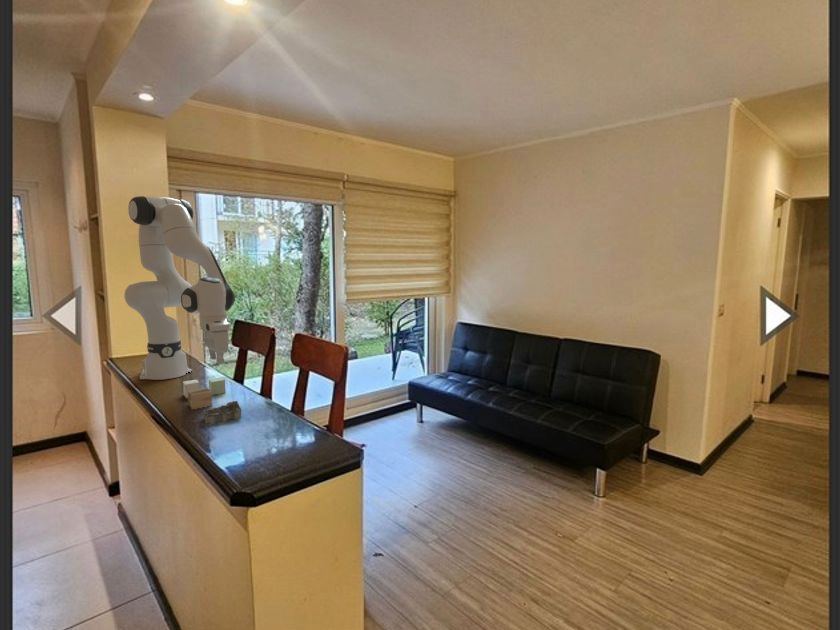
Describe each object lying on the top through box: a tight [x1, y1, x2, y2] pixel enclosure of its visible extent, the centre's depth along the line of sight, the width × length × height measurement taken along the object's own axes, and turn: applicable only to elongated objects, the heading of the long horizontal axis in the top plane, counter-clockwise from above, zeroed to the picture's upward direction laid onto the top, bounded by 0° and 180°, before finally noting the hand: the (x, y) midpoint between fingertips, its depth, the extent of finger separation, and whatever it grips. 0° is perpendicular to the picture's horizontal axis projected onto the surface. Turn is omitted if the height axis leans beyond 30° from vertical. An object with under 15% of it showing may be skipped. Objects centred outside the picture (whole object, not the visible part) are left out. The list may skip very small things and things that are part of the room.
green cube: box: [208, 376, 227, 396], centre depth 161 cm, size 4×4×5 cm
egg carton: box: [202, 400, 243, 424], centre depth 137 cm, size 11×8×4 cm
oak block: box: [187, 387, 213, 411], centre depth 148 cm, size 6×6×5 cm
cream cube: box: [182, 379, 201, 399], centre depth 158 cm, size 4×4×5 cm
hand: (216, 361), depth 160 cm, fingers open, 8 cm apart
